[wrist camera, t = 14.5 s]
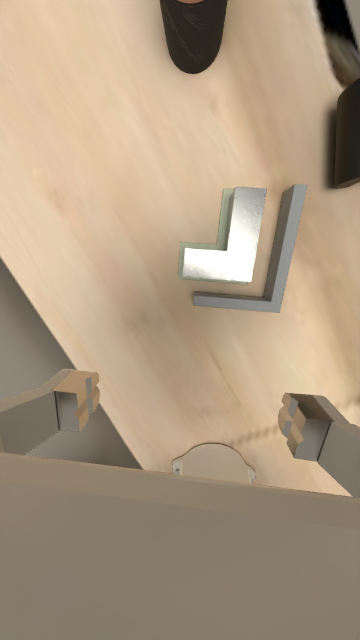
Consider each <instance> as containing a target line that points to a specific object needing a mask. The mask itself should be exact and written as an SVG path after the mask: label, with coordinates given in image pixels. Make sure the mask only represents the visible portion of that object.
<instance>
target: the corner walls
mask: <svg viewBox="0 0 360 640" xmlns="http://www.w3.org/2000/svg"><path fill="white" fill-rule="evenodd" d="M306 189H307V185H302V184H295V185H293V186H292V187H291V188H289V189H288V190H286V191H285V192H284V193H283V197H282V202H281V207H280V212H279V218H278V223H277V228H276V233H275V239H274V244H273V249H272V254H271V260H270V265H269V270H268V275H267V281H266V286H265V291H264V296H263V297H254V296H242V295H230V294H217V293H205V292H194V300H193V305H194V306H205V307H217V308H228V309H240V310H252V311H263V312H275V313H280V308H281V304H282V299H283V295H284V290H285V286H286V281H287V276H288V272H289V267H290V263H291V258H292V253H293V249H294V244H295V240H296V235H297V231H298V226H299V221H300V217H301V212H302V208H303V203H304V199H305V194H306Z"/></svg>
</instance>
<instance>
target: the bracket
mask: <svg viewBox="0 0 360 640" xmlns="http://www.w3.org/2000/svg"><path fill="white" fill-rule="evenodd" d="M266 191H267V188H249V187H235V189H234V191H233V192H232V194H231V196H230V200H229V208H228V216H227V224H226V232H225V240H224V248H223V251H217V250H203V249H189V248H185V256H184V270H183V277H194V278H207V279H220V280H233V281H245V282H251V280H252V274H253V268H254V262H255V256H256V250H257V244H258V238H259V232H260V226H261V220H262V214H263V209H264V203H265V197H266Z"/></svg>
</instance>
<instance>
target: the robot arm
mask: <svg viewBox="0 0 360 640" xmlns="http://www.w3.org/2000/svg"><path fill="white" fill-rule="evenodd" d="M98 382H99V375H98V373H96V372H88V371H80V370H72V369H62V370H61V371H59V372H58V373H57V374H56V375H54V376H53V377H52V378H51V379H50V380H48V381H47V382H46V383H45V384H44V385H42V386H41V387H40V388H39V389H32V390H30V391H27V392H24V393H21V394H18V395H16V396H13V397H10V398H7V399H4V400H2V401H0V640H360V427H358V426H357V425H355V424H350V423H349V422H348V421H347V420H346V419H345V418H344V417H343V415H342V414H341V413H340V412H339V411H338V410H337V409H336V408H335V407H334V406H333V405H332V404H331V403H330V401H329V400H328V399H327V398H326V397H324V396H321V395H306V394H294V393H285V394H284V395H283V398H282V403H283V404H284V406H283V407H282V408H281V409H280V410H279V414H278V424H279V428H280V430H281V432H282V434H283V435H284V436H285V437H287V438H288V440H287V445H288V447H289V449H290V451H291V453H292V455H293V457H294V458H296V459H303V460H310V461H317V463H318V464H319V465H320V466H321V467H322V468H323V469H324V470H326V471H327V472H328V473H329V474H330V475H331V476H332V477H333V478H334V479H335V480H336V481H337V482H338V483H339V484H340V485H341V486H342V487H343V488H344V489H345V490H347V491H348V492H349V493H350V494H351V495H352V496H353V497H350V496H342V495H334V494H326V493H318V492H310V491H303V490H295V489H287V488H279V487H272V486H264V485H256V484H252V483H253V481H254V479H255V477H256V475H255V471H254V469H253V468H251V467H250V466H248V465H247V464H246V463H245V462H244V460H243V458H242V457H241V456H240V455H239V453H237V452H236V451H235V450H233V449H232V448H230V447H227V446H224V445H221V444H203V445H200V446H197V447H195V448H193V449H191V450H190V451H189V452H188V453H186V454H185V455H184V456H182V457H179V458H177V459H175V460H173V462H172V469H173V474H170V473H162V472H154V471H146V470H138V469H130V468H123V467H122V468H121V467H115V466H107V465H98V464H91V463H83V462H76V461H68V460H60V459H52V458H44V457H36V456H29V455H25V454H26V453H28V452H29V451H31V450H32V449H34V448H35V447H37V446H38V445H40V444H41V443H43V442H44V441H46V440H47V439H49V438H50V437H52V436H53V435H55V434H56V433H58V432H59V431H70V432H81V430H82V429H83V427H84V426H85V424H86V423H87V421H88V415H89V414H91V413H93V412H94V411H95V409H96V407H97V405H98V402H99V397H100V390H99V389H98V387H97V386H96V385H97V384H98Z"/></svg>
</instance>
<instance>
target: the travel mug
mask: <svg viewBox="0 0 360 640" xmlns="http://www.w3.org/2000/svg"><path fill="white" fill-rule="evenodd" d="M227 1H228V0H160V5H161V10H162V16H163V22H164V28H165V34H166V40H167V45H168V49H169V53H170V56H171V58H172V60H173V62H174V63H175V65H176V66H177V67H178V68H179V69H180V70H182V71H184V72H186V73H191V74H195V73H199V72H202V71H204V70H205V69H207V68H208V67H209V66H210V65H211V64H212V62H213V61H214V59H215V58H216V56H217V54H218V51H219V48H220V45H221V40H222V34H223V27H224V21H225V14H226V7H227Z"/></svg>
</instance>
